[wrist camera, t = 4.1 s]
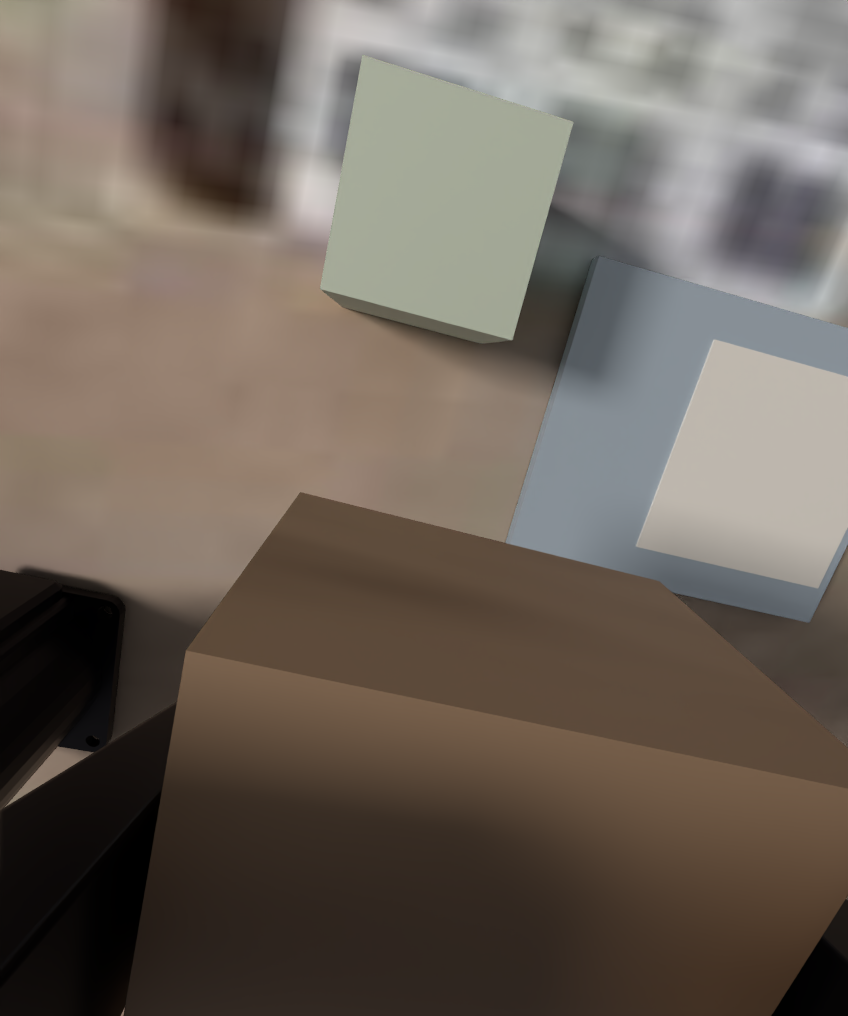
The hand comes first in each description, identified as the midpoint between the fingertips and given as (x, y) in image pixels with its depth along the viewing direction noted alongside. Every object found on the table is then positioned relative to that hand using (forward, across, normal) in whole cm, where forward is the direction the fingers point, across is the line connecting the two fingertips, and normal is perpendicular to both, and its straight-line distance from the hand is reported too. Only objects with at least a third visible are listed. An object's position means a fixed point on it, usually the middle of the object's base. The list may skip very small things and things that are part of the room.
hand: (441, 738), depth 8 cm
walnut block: (+1, 0, 0) cm, 1 cm away
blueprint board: (+11, -9, -5) cm, 15 cm away
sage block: (+11, +2, -9) cm, 14 cm away
